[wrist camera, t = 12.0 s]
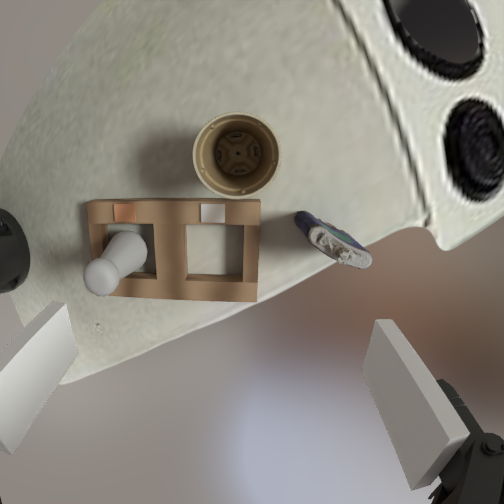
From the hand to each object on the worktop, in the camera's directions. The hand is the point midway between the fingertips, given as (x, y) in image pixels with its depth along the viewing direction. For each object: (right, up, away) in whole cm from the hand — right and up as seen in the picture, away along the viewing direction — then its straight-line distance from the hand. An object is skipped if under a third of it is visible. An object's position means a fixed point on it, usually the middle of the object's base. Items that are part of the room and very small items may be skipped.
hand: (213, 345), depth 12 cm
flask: (+11, +7, +32) cm, 34 cm away
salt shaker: (-16, +5, +32) cm, 36 cm away
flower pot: (0, +17, +28) cm, 33 cm away
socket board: (-10, +4, +32) cm, 33 cm away
